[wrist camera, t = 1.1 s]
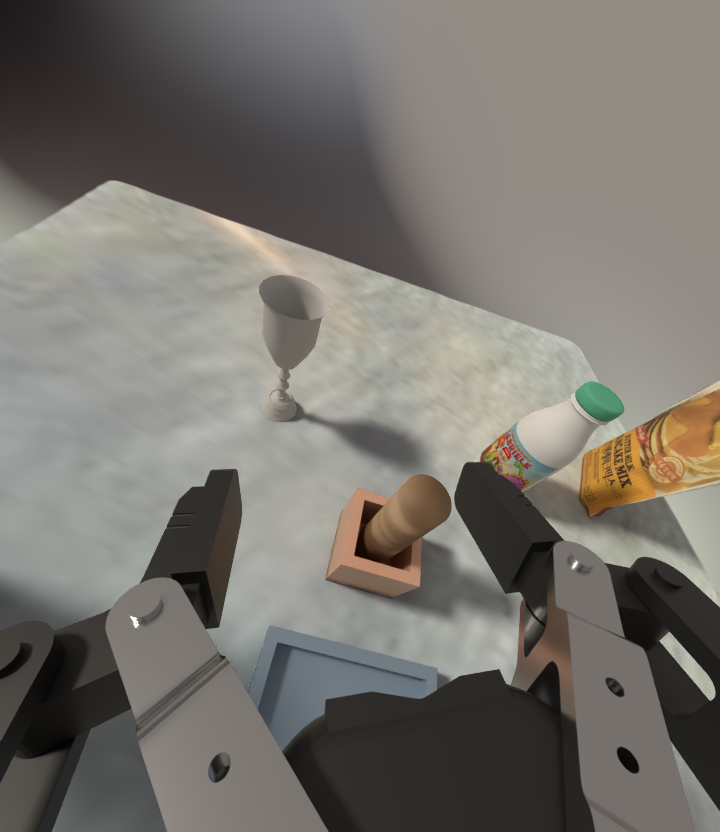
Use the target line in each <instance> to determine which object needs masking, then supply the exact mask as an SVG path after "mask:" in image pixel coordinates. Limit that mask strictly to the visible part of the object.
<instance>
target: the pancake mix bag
mask: <svg viewBox="0 0 720 832" xmlns="http://www.w3.org/2000/svg"><path fill="white" fill-rule="evenodd" d="M715 485H720V380H719V381H717V382H715V383H714V384H711V385H709V386H707V387H706V388H704V389H702V390H700V391H698V392H697V393H695V394H694V395H692V396H690V397H688V398H686V399H684V400H682V401H680V402H678V403H676V404H674V405H672V406H670V407H668V408H667V409H665V410H664V411H662V412H661V413H659V414H658V415H656V416H654V417H653V418H651V419H650V420H648V421H647V422H645V423H644V424H642V425H640V426H639V427H637V428H635V429H633V430H631V431H629V432H627V433H625V434H623V435H621V436H619V437H617V438H615V439H613V440H611V441H609V442H607V443H605V444H603V445H601V446H600V447H598V448H596V449H593V450H591V451H589V452H588V453H586V454H585V455H584V457H583V462H582V472H581V485H580V501H581V502H582V503H583V504H584V506H585V507H586V508H587V509H588V513H589V517H593V516H600V515H602V514H603V513H604V512H605V511H606V510H608V509H610V508H612V507H614V506H620V505H626V504H631V503H636V502H641V501H645V500H649V499H653V498H657V497H662V496H667V495H672V494H676V493H681V492H686V491H691V490H697V489H701V488H705V487H709V486H715Z"/></svg>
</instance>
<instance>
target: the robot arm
mask: <svg viewBox="0 0 720 832" xmlns="http://www.w3.org/2000/svg"><path fill="white" fill-rule="evenodd" d="M454 500H455V506H456V509H457V511H458V513H459V514H460V516H461V518H462V520H463V521H464V523H465V525H466V526H467V528H468V530H469V532H470V533H471V535H472V537H473V539H474V540H475V542H476V544H477V545H478V547H479V549H480V551H481V552H482V554H483V556H484V558H485V559H486V561H487V563H488V564H489V566H490V568H491V570H492V571H493V573H494V575H495V576H496V578H497V580H498V582H499V583H500V585H501V587H502V589H503V590H504V592H505V594H507V593H515V592H520V593H521V594H522V596H523V600H522V602H521V606H520V623H519V641H518V659H517V666H516V671H515V674H514V676H513V680H512V683H511V685H508V684H506V683H505V681H504V679H503V676H502V674H501V672H500V670H499V669H497V670H492V671H486V672H480V673H475V674H469V675H463V676H459V677H458V678H456V679H454V680H453V681H451V682H449V683H448V684H446V685H444V686H443V687H441V688H439V689H438V690H436V691H434V692H433V693H431V694H429V695H428V696H426V697H424V698H421V699H416V698H410V697H404V696H397V695H391V694H385V693H379V692H373V691H371V692H366V693H360V694H354V695H348V696H343V697H337V698H331V699H326V701H325V712H324V714H323V715H322V716H320V717H318V718H316V719H315V720H313V721H312V722H310V723H309V724H308V725H307V726H305V727H304V728H303V729H302V730H301V731H300V732H299V733H298V734H297V735H296V736H295V737H294V738H293V739H292V740H291V741H290V742H289V743H288V745H287V746H286V747H285V748H284V750H283V751H281V749H280V748H279V746H278V744H277V742H276V741H275V739H274V737H273V736H272V734H271V732H270V730H269V729H268V727H267V725H266V724H265V722H264V720H263V718H262V717H261V715H260V713H259V712H258V710H257V708H256V706H255V705H254V703H253V701H252V700H251V698H250V696H249V694H248V693H247V691H246V689H245V688H244V686H243V684H242V682H241V681H240V679H239V677H238V675H237V674H236V672H235V670H234V669H233V667H232V665H231V664H230V662H229V661H228V660H227V658H226V657H225V656H221V654H220V653H219V652H218V650H217V648H216V647H215V645H214V643H213V641H212V640H211V638H210V636H209V634H208V633H207V631H206V629H210V628H218V627H219V625H220V621H221V616H222V611H223V606H224V601H225V597H226V592H227V587H228V582H229V577H230V572H231V568H232V563H233V558H234V553H235V548H236V544H237V539H238V534H239V529H240V524H241V517H242V502H241V494H240V486H239V478H238V472H237V469H221V470H211V471H210V473H209V476H208V478H207V481H206V483H205V486H204V487H192V488H191V489H190V490H189V491H187V492H186V493H185V494H184V495H183V496H182V497H181V498H180V499H179V501H178V503H177V505H176V507H175V510H174V512H173V516H172V517H171V518H170V520H169V523H168V525H167V529H165V531H164V533H163V535H162V538H161V540H160V542H159V544H158V546H157V548H156V551H155V553H154V555H153V557H152V559H151V561H150V564H149V566H148V568H147V570H146V572H145V574H144V576H143V578H142V580H141V582H140V583H139V584H138V585H136V586H134V587H133V588H131V589H130V590H128V591H127V592H126V593H125V594H123V595H122V596H121V597H120V598H119V599H118V601H117V602H116V603H115V604H114V606H113V607H112V608H111V609H109V610H107V611H106V612H104V613H101V614H99V615H96V616H94V617H91V618H88V619H86V620H83V621H80V622H78V623H75V624H72V625H70V626H67V627H64V628H62V629H59V630H56V631H53V630H52V628H51V627H50V626H49V625H48V624H46V623H43V622H38V621H32V622H25V623H20V624H17V625H14V626H11V627H9V628H7V629H4V630H2V631H0V832H52V829H53V827H54V824H55V821H56V819H57V816H58V813H59V811H60V808H61V805H62V803H63V800H64V798H65V795H66V792H67V790H68V787H69V784H70V782H71V779H72V776H73V774H74V771H75V769H76V766H77V763H78V761H79V758H80V755H81V753H82V750H83V747H84V745H85V742H86V739H87V737H88V734H89V732H90V729H91V728H93V727H95V726H97V725H99V724H101V723H103V722H105V721H107V720H109V719H111V718H113V717H115V716H117V715H119V714H121V713H123V712H125V711H127V710H129V709H131V708H132V711H133V714H134V717H135V721H136V725H137V728H136V734H137V739H138V743H139V746H140V750H141V753H142V756H143V759H144V762H145V765H146V768H147V771H148V774H149V777H150V780H151V783H152V787H153V790H154V793H155V796H156V799H157V802H158V805H159V808H160V811H161V814H162V817H163V820H164V823H165V827H166V830H167V832H695V830H694V826H693V822H692V819H691V815H690V811H689V808H688V804H687V800H686V797H685V793H684V789H683V786H682V782H681V778H680V775H679V771H678V768H677V764H676V760H675V757H674V753H673V749H672V746H671V742H672V743H673V745H674V746H675V748H676V749H677V751H678V752H679V753H680V755H681V756H682V758H683V759H684V761H685V762H686V764H687V765H688V766H689V768H690V769H691V771H692V772H693V774H694V775H695V776H696V778H697V779H698V781H699V782H700V784H701V785H702V786H703V788H704V789H705V791H706V792H707V794H708V795H709V796H710V798H711V799H712V801H713V802H714V804H715V805H716V806H717V808H718V809H719V811H720V607H719V606H718V605H716V604H715V603H714V602H713V601H712V600H711V599H710V598H709V597H708V596H707V595H706V594H705V593H703V592H702V591H701V590H700V589H699V588H698V587H697V586H696V585H695V584H694V583H693V582H691V581H690V580H689V579H688V578H687V577H686V576H685V575H684V574H682V573H681V572H680V571H678V570H677V569H675V568H674V567H672V566H670V565H668V564H666V563H664V562H662V561H660V560H657V559H654V558H649V557H641V558H638V559H637V560H636V561H635V562H634V564H633V565H632V566H631V567H630V568H627V567H622V566H617V565H612V564H607V563H604V562H603V561H602V560H601V559H600V558H599V557H598V556H597V555H596V554H595V553H593V552H592V551H591V550H589V549H588V548H586V547H584V546H582V545H580V544H577V543H574V542H570V541H564V540H563V538H562V537H561V536H560V535H559V534H558V533H557V532H556V531H555V529H554V528H553V527H552V526H551V525H550V524H549V523H548V521H547V520H546V519H545V518H544V517H543V516H542V515H541V513H540V512H539V511H538V510H537V509H536V508H535V507H533V506H532V503H531V502H530V501H529V500H528V499H527V497H524V494H523V493H522V492H521V491H520V489H519V488H518V487H517V486H516V485H515V484H514V483H512V482H511V481H510V480H508V479H507V478H505V477H504V476H502V475H499V474H498V473H497V471H496V470H495V469H494V468H493V467H492V466H491V464H490V463H488V462H467V463H466V464H465V465H464V467H463V469H462V473H461V476H460V479H459V482H458V485H457V488H456V491H455V496H454ZM669 631H670V633H671V634H672V635H673V636H674V637H675V638H676V639H677V640H678V642H679V643H680V644H681V645H682V646H683V647H684V648H685V649H686V651H687V652H688V653H689V654H690V655H691V656H692V657H693V658H694V659H695V661H696V662H697V663H698V664H699V665H700V666H701V667H702V668H703V670H704V671H705V672H706V673H707V674H708V676H709V677H710V678H711V680H712V682H713V684H714V687H715V691H716V695H715V698H714V699H713V700H711V701H709V699H708V698H707V697H706V696H705V695H704V694H703V692H702V691H701V690H700V689H699V688H698V686H697V685H696V684H695V683H694V682H693V680H692V679H691V678H690V677H689V676H688V675H687V673H686V672H685V671H684V670H683V669H682V667H681V666H680V665H679V664H678V663H677V662H676V660H675V659H674V658H673V657H672V656H671V654H670V653H669V652H668V651H667V650H666V649H665V647H664V646H663V645H662V644H661V643H660V640H661V639H662V638H663V637H664V636H665V635H666V634H667V633H668V632H669ZM670 741H671V742H670Z"/></svg>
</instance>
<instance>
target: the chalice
mask: <svg viewBox="0 0 720 832" xmlns="http://www.w3.org/2000/svg"><path fill="white" fill-rule="evenodd" d="M259 293H260V295H261V298H262V300H263V302H264V311H263V327H262V334H263V337H264V340H265V343H266V346H267V348H268V351H269V352H270V354H271V356H272V358H273V360H274V362H275V363H276V365H277V366H279V367H280V368H281V370H280V371H279V372H278V377H279V378H280V379H279V380H278V381H276V387H277V388H278V389H277V390H273V391H271V392H270V393H268V395H267V396H266V397H265V398H264V399H263V401H262V403H261V410H262V413H263V414H264V415H265V416H266V417H267V418H269V419H270V420H273V421H278V422H283V421H288V420H290V419H292V418H293V417H294V416H295V414H296V412H297V406H296V403H295V401H294V399H293V396H292V395H291V394H290V393H289V392H287V391H286V389H288V388H289V383H288V382H287V379H289V378H290V373H289V371H288V370H289V369H293V368H295V367H296V366H297V365H298V364H299V363H300V362H302V361H303V360H304V359H305V358H306V357H307V356H308V355H309V353H310V352H311V351H312V349H313V348H314V346H315V344H316V340H317V336H318V332H319V327H320V323H321V319H322V317H323V316H324V315H325V314H326V313H327V312H328V309H329V307H330V306H329V300H328V298H327V297H326V295H325V294H324V293H323V292H322V291H321V290H320V289H319V288H318V287H317V286H315V285H313V284H312V283H310V282H308V281H306V280H303V279H301V278H297V277H293V276H285V275H278V276H272V277H269V278H267V279H265V280H263V282H262V283H261V285H260V287H259Z"/></svg>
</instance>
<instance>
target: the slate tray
mask: <svg viewBox="0 0 720 832" xmlns="http://www.w3.org/2000/svg"><path fill="white" fill-rule="evenodd" d="M436 690H437V668H433V667H430V666H426V665H422V664H418V663H414V662H410V661H406V660H402V659H399V658H395V657H391V656H387V655H383V654H379V653H375V652H372V651H368V650H364V649H360V648H356V647H352V646H348V645H344V644H341V643H337V642H333V641H329V640H325V639H321V638H317V637H313V636H310V635H306V634H302V633H298V632H294V631H290V630H286V629H282V628H279V627H275V626H271V625H270V626H269V628H268V631H267V634H266V637H265V640H264V643H263V647H262V650H261V653H260V656H259V659H258V663H257V666H256V669H255V672H254V675H253V678H252V682H251V685H250V688H249V691H248V694H249V696H250V698H251V700H252V701H253V703H254V705H255V706H256V708H257V710H258V712H259V713H260V715H261V717H262V718H263V720H264V722H265V724H266V725H267V727H268V729H269V730H270V732H271V734H272V736H273V737H274V739H275V741H276V742H277V744H278V746H279V748H280V749H281V751H283V750H284V748H285V747H286V746H287V745H288V743H289V742H290V741H291V740H292V739H293V738H294V737H295V736H296V735H297V734H298V733H299V732H300V731H301V730H302V729H303V728H304V727H305V726H307V725H308V724H309V723H310V722H312V721H313V720H315V719H316V718H318V717H320V716H322V715H323V714H324V712H325V701H326V699H331V698H337V697H343V696H348V695H354V694H360V693H366V692H371V691H373V692H379V693H385V694H391V695H397V696H404V697H410V698H416V699H421V698H424V697H426V696H428V695H429V694H431V693H433V692H434V691H436Z"/></svg>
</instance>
